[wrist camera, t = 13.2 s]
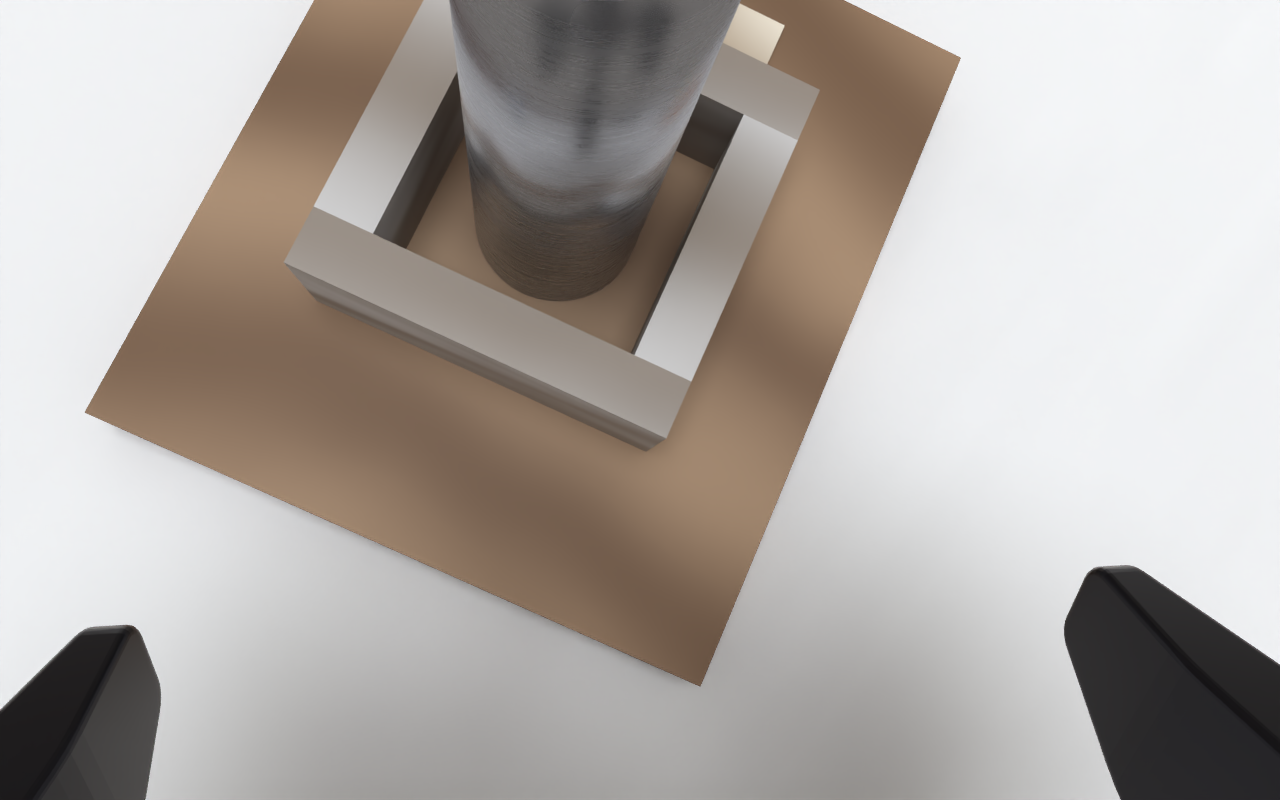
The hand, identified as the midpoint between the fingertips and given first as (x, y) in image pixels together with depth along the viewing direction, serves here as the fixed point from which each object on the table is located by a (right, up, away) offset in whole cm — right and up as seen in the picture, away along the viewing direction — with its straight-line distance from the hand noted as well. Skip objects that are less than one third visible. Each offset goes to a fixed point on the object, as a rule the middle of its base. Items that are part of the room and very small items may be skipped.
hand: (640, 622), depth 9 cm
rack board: (-2, +6, +14) cm, 15 cm away
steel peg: (-2, +6, +13) cm, 14 cm away
